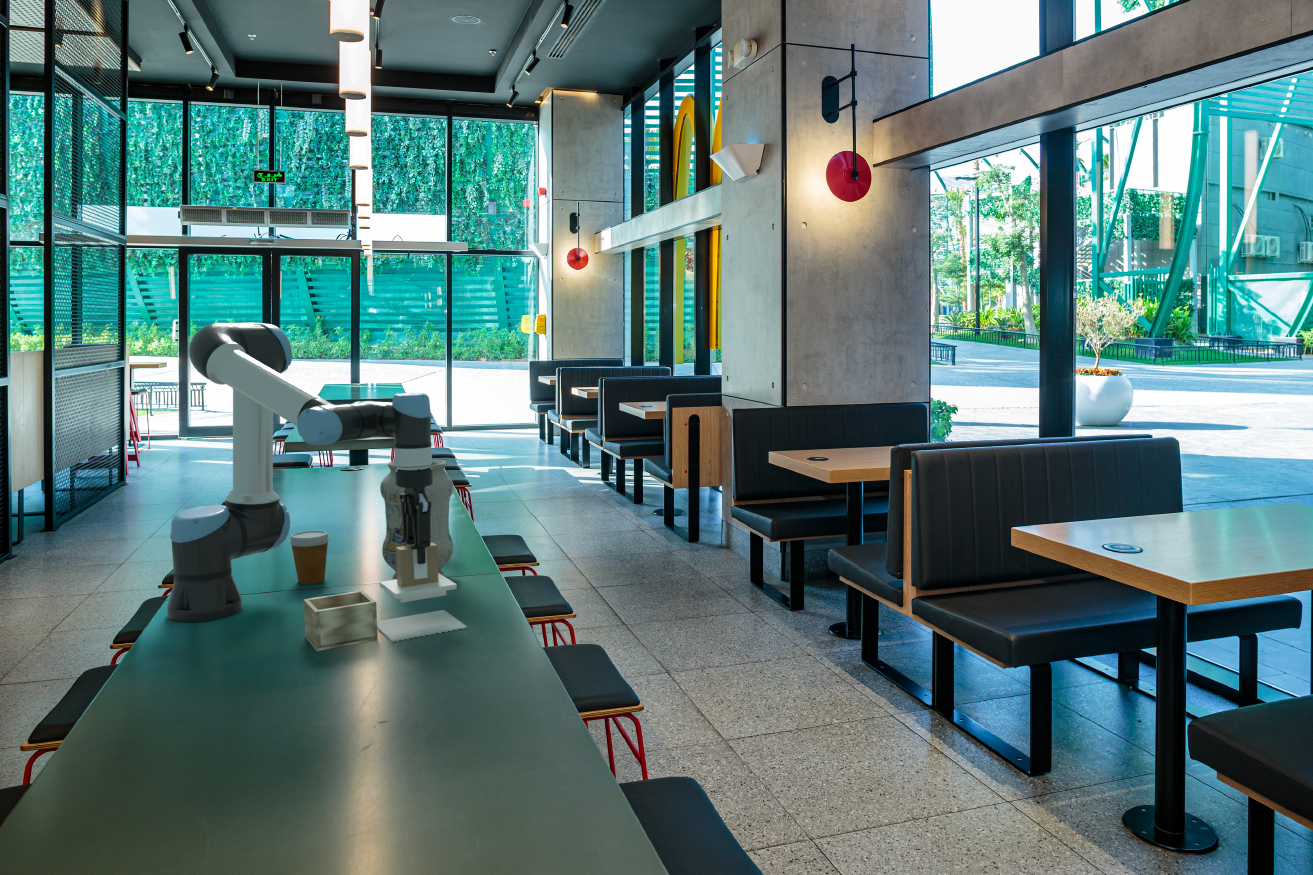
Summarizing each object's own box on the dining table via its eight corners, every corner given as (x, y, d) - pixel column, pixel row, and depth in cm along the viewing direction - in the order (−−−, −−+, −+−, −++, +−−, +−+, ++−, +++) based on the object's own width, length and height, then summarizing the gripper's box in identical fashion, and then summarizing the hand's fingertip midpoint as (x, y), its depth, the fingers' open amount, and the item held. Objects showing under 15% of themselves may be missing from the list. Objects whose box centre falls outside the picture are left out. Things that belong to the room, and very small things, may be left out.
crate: (316, 651, 181) (315, 611, 180) (305, 637, 190) (303, 599, 189) (377, 639, 188) (376, 601, 187) (364, 626, 196) (362, 590, 195)
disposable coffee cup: (318, 586, 227) (315, 539, 225) (283, 584, 229) (281, 537, 227) (338, 576, 236) (336, 531, 235) (305, 574, 238) (303, 529, 237)
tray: (392, 642, 186) (391, 640, 186) (372, 623, 198) (372, 622, 198) (466, 628, 195) (466, 626, 195) (443, 611, 207) (443, 609, 207)
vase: (427, 564, 248) (423, 454, 244) (470, 575, 237) (467, 460, 233) (369, 578, 234) (364, 462, 231) (411, 591, 223) (407, 469, 219)
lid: (395, 605, 188) (394, 555, 186) (380, 593, 197) (378, 545, 196) (456, 595, 195) (455, 547, 193) (438, 583, 204) (437, 537, 203)
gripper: (444, 470, 188) (448, 582, 191) (418, 461, 201) (422, 565, 204) (408, 473, 184) (412, 587, 187) (384, 463, 197) (388, 570, 200)
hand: (417, 575), depth 195 cm, fingers closed on lid, 3 cm apart
